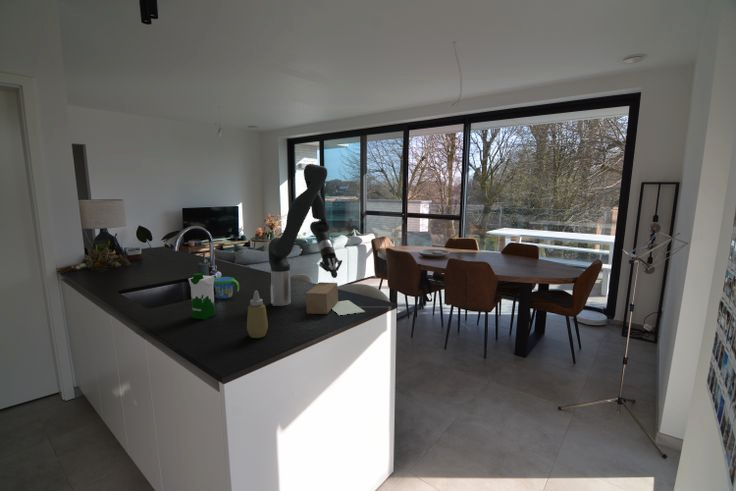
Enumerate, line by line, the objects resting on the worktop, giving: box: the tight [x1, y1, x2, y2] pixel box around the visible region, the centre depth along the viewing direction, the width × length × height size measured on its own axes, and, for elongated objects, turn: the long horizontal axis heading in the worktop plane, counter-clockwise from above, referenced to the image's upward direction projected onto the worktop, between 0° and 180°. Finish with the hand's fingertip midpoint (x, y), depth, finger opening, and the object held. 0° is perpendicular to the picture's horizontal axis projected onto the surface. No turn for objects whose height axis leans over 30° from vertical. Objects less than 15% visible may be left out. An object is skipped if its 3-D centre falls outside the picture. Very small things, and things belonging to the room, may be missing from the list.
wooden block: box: [305, 281, 339, 315], centre depth 178 cm, size 10×10×20 cm
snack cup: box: [213, 276, 240, 300], centre depth 195 cm, size 16×10×10 cm
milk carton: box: [187, 272, 217, 320], centre depth 164 cm, size 9×9×20 cm
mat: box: [331, 300, 366, 317], centre depth 179 cm, size 13×20×1 cm, turn 26°
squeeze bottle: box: [246, 290, 269, 339], centre depth 142 cm, size 8×8×18 cm
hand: (335, 277), depth 188 cm, fingers closed
